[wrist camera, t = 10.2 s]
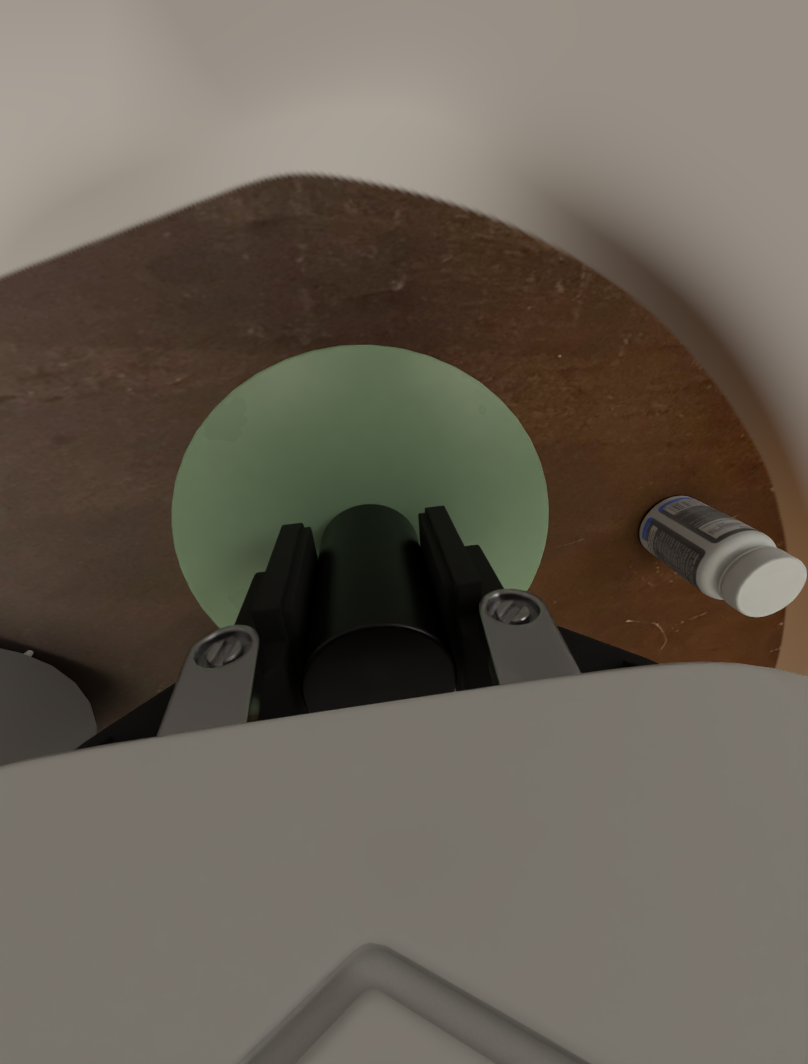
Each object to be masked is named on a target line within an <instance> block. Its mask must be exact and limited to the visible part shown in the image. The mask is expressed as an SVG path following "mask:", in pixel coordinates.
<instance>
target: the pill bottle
mask: <svg viewBox="0 0 808 1064" xmlns="http://www.w3.org/2000/svg"><path fill="white" fill-rule="evenodd" d="M639 536H640V541H641V543H642V545H643V546H644V547H645V549H646V550H648V551H649V552H650V553H651V554H653V555H654V556H655V557H657V558H658V559H659V560H661V561H662V562H664V563H665V564H666V565H667V566H669V567H670V568H671V569H673V570H674V571H675V572H676V573H678V574H679V575H680V576H682V577H683V578H684V579H686V580H687V581H688V582H690V583H691V584H692V585H694V586H695V587H696V588H698V589H699V590H700V591H701V592H703V593H704V594H706V595H708V596H709V597H712V598H715V599H720V600H724V601H726V603H728V604H729V605H730V606H732V607H733V608H735V609H736V610H738V611H739V612H741V613H742V614H744V615H747V616H750V617H762V616H767V615H770V614H773V613H775V612H777V611H779V610H780V609H782V608H784V607H785V606H787V605H788V604H789V603H790V602H792V600H794V599H795V598H796V596H797V595H798V594H799V592H800V591H801V590H802V588H803V586H804V584H805V581H806V577H807V573H806V567H805V566H804V564H803V563H802V562H801V561H800V560H799V559H797V558H795V557H793V556H791V555H789V554H788V553H786V552H784V551H783V550H781V549H778V548H776V545H775V543H774V542H773V541H772V540H771V539H770V538H769V537H768V536H767V535H765V534H764V533H762V532H760V531H758V530H756V529H754V528H752V527H750V526H748V525H746V524H744V523H742V522H740V521H738V520H736V519H734V518H732V517H730V516H728V515H726V514H724V513H722V512H720V511H718V510H716V509H714V508H712V507H710V506H708V505H706V504H704V503H702V502H700V501H698V500H696V499H694V498H691V497H688V496H675V497H670V498H668V499H665V500H663V501H662V502H660V503H659V504H657V505H656V506H655V507H653V508H652V509H651V510H650V512H649V513H648V514H647V515H646V517H645V518H644V520H643V521H642V524H641V526H640V532H639Z"/></svg>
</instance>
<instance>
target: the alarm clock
mask: <svg viewBox="0 0 808 1064" xmlns="http://www.w3.org/2000/svg"><path fill="white" fill-rule="evenodd" d="M33 653H34V652H33V651H31V650H27V651H26V652H25V653H24V654H23V653H19V652H14V651H9V650H5V649H0V766H2V765H6V764H10V763H14V762H18V761H22V760H26V759H30V758H34V757H40V756H45V755H51V754H56V753H61V752H67V751H72V750H75V749H76V748H77V747H79V746H80V745H81V744H83V743H84V742H85V741H87V740H89V739H90V738H92V737H93V736H95V735H96V734H97V725H96V722H95V718H94V715H93V711H92V708H91V704H90V702H89V701H88V699H87V698H86V697H85V695H84V694H83V693H82V691H81V690H80V689H79V687H78V686H77V684H76V683H75V682H74V681H72V680H71V679H70V678H68V677H67V676H65V675H64V674H63V673H61V672H60V671H59V670H57V669H56V668H55V667H53V666H51V665H49V664H47V663H44V662H42V661H40V660H37V659H35V658H33V657H31V656H32V655H33Z"/></svg>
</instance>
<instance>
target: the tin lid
mask: <svg viewBox="0 0 808 1064" xmlns="http://www.w3.org/2000/svg"><path fill="white" fill-rule="evenodd" d="M443 505H444V506H445V508H446V510H447V512H448V514H449V516H450V518H451V520H452V522H453V524H454V526H455V528H456V530H457V532H458V534H459V536H460V538H461V540H462V542H463V544H464V546H469V545H479V546H480V547H481V549H482V551H483V553H484V554H485V556H486V558H487V560H488V561H489V563H490V565H491V567H492V568H493V570H494V572H495V574H496V575H497V577H498V579H499V581H500V582H501V584H502V586H503V587H504V589H519V590H524V591H527V590H528V588H529V586H530V585H531V583H532V580H533V578H534V576H535V574H536V571H537V569H538V567H539V564H540V561H541V558H542V554H543V551H544V548H545V543H546V537H547V530H548V512H549V503H548V495H547V487H546V480H545V477H544V473H543V470H542V466H541V463H540V459H539V457H538V455H537V453H536V450H535V448H534V446H533V444H532V442H531V439H530V438H529V436H528V434H527V433H526V431H525V430H524V428H523V427H522V425H521V424H520V422H519V421H518V419H517V418H516V416H515V415H514V414H513V413H512V412H511V411H510V410H509V409H508V407H507V406H506V405H505V404H504V403H503V402H502V401H501V399H500V398H498V397H497V396H496V395H495V394H494V393H492V392H491V391H490V390H489V389H488V388H486V387H485V386H484V385H483V384H482V383H481V382H479V381H478V380H476V379H474V378H473V377H471V376H469V375H468V374H466V373H465V372H463V371H461V370H460V369H458V368H456V367H454V366H452V365H449V364H447V363H445V362H442V361H440V360H438V359H436V358H433V357H431V356H428V355H425V354H421V353H417V352H414V351H410V350H406V349H402V348H397V347H388V346H380V345H341V346H335V347H329V348H323V349H317V350H312V351H309V352H306V353H303V354H300V355H297V356H294V357H291V358H288V359H285V360H283V361H281V362H279V363H277V364H275V365H273V366H271V367H269V368H267V369H265V370H263V371H261V372H259V373H257V374H255V375H254V376H252V377H251V378H250V379H248V380H247V381H245V382H244V383H242V384H241V385H240V386H238V387H237V388H235V389H234V390H233V391H232V392H231V393H229V394H228V395H227V396H226V397H225V398H224V399H223V400H222V401H221V402H220V403H219V404H218V405H217V406H216V407H215V408H214V409H213V410H212V411H211V413H210V414H209V415H208V416H207V418H206V419H205V420H204V422H203V423H202V424H201V426H200V427H199V428H198V430H197V431H196V433H195V435H194V437H193V438H192V440H191V442H190V444H189V446H188V448H187V450H186V452H185V453H184V456H183V459H182V462H181V465H180V468H179V471H178V474H177V476H176V481H175V486H174V492H173V498H172V532H173V539H174V546H175V551H176V554H177V557H178V561H179V564H180V567H181V570H182V573H183V575H184V577H185V579H186V581H187V583H188V585H189V588H190V590H191V592H192V593H193V595H194V596H195V598H196V599H197V601H198V602H199V604H200V605H201V607H202V608H203V610H204V611H205V612H206V613H207V614H208V616H209V617H210V618H211V619H212V620H213V621H214V623H215V624H216V625H217V626H218V627H219V628H222V627H226V626H230V625H234V624H235V622H236V619H237V617H238V614H239V612H240V609H241V607H242V604H243V602H244V599H245V597H246V594H247V592H248V589H249V587H250V584H251V582H252V579H253V577H254V575H255V573H258V572H265V571H266V568H267V565H268V562H269V560H270V557H271V554H272V551H273V549H274V546H275V543H276V540H277V538H278V535H279V532H280V529H281V526H282V525H286V524H294V523H303V525H304V527H311V529H312V533H313V538H314V543H315V548H316V553H317V557H318V564H317V570H316V577H315V584H314V590H313V597H312V603H311V610H310V616H309V623H308V629H307V636H306V643H305V649H304V656H303V662H302V669H301V675H300V692H301V696H302V699H303V702H304V704H305V706H306V708H307V709H308V711H309V712H310V713H315V712H322V711H329V710H336V709H342V708H349V707H356V706H363V705H369V704H376V703H383V702H389V701H396V700H403V699H410V698H416V697H423V696H430V695H436V694H443V693H450V692H454V690H455V685H456V681H457V667H456V663H455V659H454V656H453V653H452V649H451V646H450V643H449V640H448V636H447V633H446V630H445V626H444V623H443V620H442V617H441V613H440V610H439V607H438V603H437V600H436V597H435V593H434V590H433V587H432V584H431V580H430V577H429V574H428V570H427V567H426V564H425V560H424V557H423V554H422V551H421V547H420V534H419V520H418V514H419V513H425V508H427V507H435V506H443Z"/></svg>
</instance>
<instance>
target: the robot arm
mask: <svg viewBox="0 0 808 1064" xmlns="http://www.w3.org/2000/svg"><path fill="white" fill-rule="evenodd" d="M418 520H419V534H420V547H421V551H422V554H423V557H424V560H425V564H426V567H427V570H428V574H429V577H430V580H431V584H432V587H433V590H434V593H435V597H436V600H437V603H438V607H439V610H440V613H441V617H442V620H443V623H444V626H445V630H446V633H447V636H448V640H449V643H450V646H451V649H452V653H453V656H454V659H455V663H456V667H457V681H456V685H455V688H456V692H450V693H443V694H436V695H430V696H423V697H416V698H410V699H403V700H396V701H389V702H383V703H376V704H369V705H363V706H356V707H349V708H342V709H336V710H329V711H322V712H315V713H310V712H309V711H308V709H307V708H306V706H305V704H304V702H303V699H302V696H301V692H300V675H301V669H302V662H303V656H304V649H305V643H306V636H307V629H308V623H309V616H310V610H311V603H312V597H313V590H314V584H315V577H316V570H317V564H318V557H317V553H316V548H315V543H314V538H313V533H312V529H311V527H304V525H303V523H294V524H286V525H282V526H281V529H280V532H279V535H278V538H277V540H276V543H275V546H274V549H273V551H272V554H271V557H270V560H269V562H268V565H267V568H266V571H265V572H258V573H255V575H254V577H253V579H252V582H251V584H250V587H249V589H248V592H247V594H246V597H245V599H244V602H243V604H242V607H241V609H240V612H239V614H238V617H237V619H236V622H235V624H234V625H230V626H226V627H222V628H219V629H216V630H214V631H212V632H210V633H208V634H206V635H205V636H203V637H202V638H200V639H199V640H198V641H197V642H196V643H195V644H194V645H193V646H192V647H191V648H190V650H189V652H188V653H187V655H186V658H185V660H184V663H183V666H182V669H181V671H180V674H179V677H178V679H177V682H176V683H175V684H173V685H171V686H170V687H168V688H167V689H165V690H164V691H162V692H161V693H159V694H158V695H156V696H155V697H153V698H151V699H150V700H148V701H147V702H145V703H144V704H142V705H141V706H139V707H138V708H136V709H135V710H133V711H132V712H130V713H128V714H127V715H125V716H124V717H122V718H121V719H119V720H118V721H116V722H115V723H113V724H112V725H110V726H108V727H107V728H105V729H104V730H102V731H101V732H99V733H98V734H96V735H95V736H93V737H92V738H90V739H89V740H87V741H85V742H84V743H83V744H81V745H80V746H79V747H77V748H76V749H75V750H72V751H67V752H61V753H56V754H51V755H45V756H40V757H34V758H30V759H26V760H22V761H18V762H14V763H10V764H6V765H2V766H0V1064H808V677H807V676H804V675H800V674H796V673H792V672H788V671H784V670H779V669H774V668H768V667H761V666H754V665H746V664H739V663H721V662H676V663H663V664H658V663H656V662H654V661H651V660H649V659H647V658H644V657H642V656H639V655H636V654H633V653H631V652H628V651H625V650H622V649H620V648H617V647H614V646H611V645H609V644H606V643H603V642H600V641H598V640H595V639H592V638H589V637H587V636H584V635H581V634H578V633H576V632H573V631H570V630H567V629H565V628H562V627H559V626H557V625H556V623H555V621H554V620H553V618H552V616H551V614H550V612H549V610H548V608H547V606H546V605H545V603H544V602H543V601H542V599H540V598H539V597H537V596H536V595H534V594H532V593H530V592H527V591H524V590H519V589H504V587H503V586H502V584H501V582H500V581H499V579H498V577H497V575H496V574H495V572H494V570H493V568H492V567H491V565H490V563H489V561H488V560H487V558H486V556H485V554H484V553H483V551H482V549H481V547H480V546H479V545H469V546H464V544H463V542H462V540H461V538H460V536H459V534H458V532H457V530H456V528H455V526H454V524H453V522H452V520H451V518H450V516H449V514H448V512H447V510H446V508H445V506H444V505H443V506H435V507H427V508H425V513H419V514H418Z"/></svg>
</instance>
